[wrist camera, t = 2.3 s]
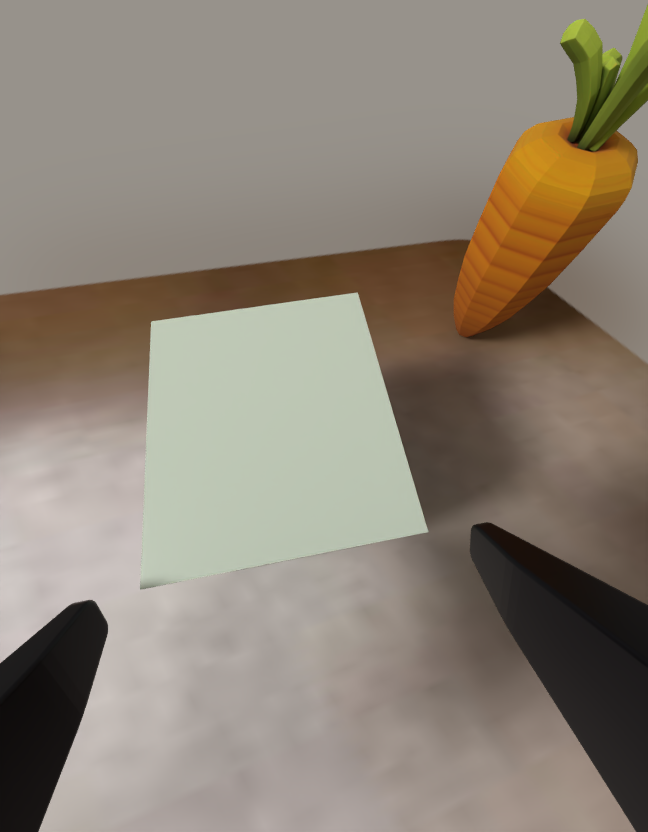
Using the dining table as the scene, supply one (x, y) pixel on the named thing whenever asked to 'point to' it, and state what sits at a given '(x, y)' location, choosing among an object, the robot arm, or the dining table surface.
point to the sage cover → (269, 441)
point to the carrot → (555, 185)
